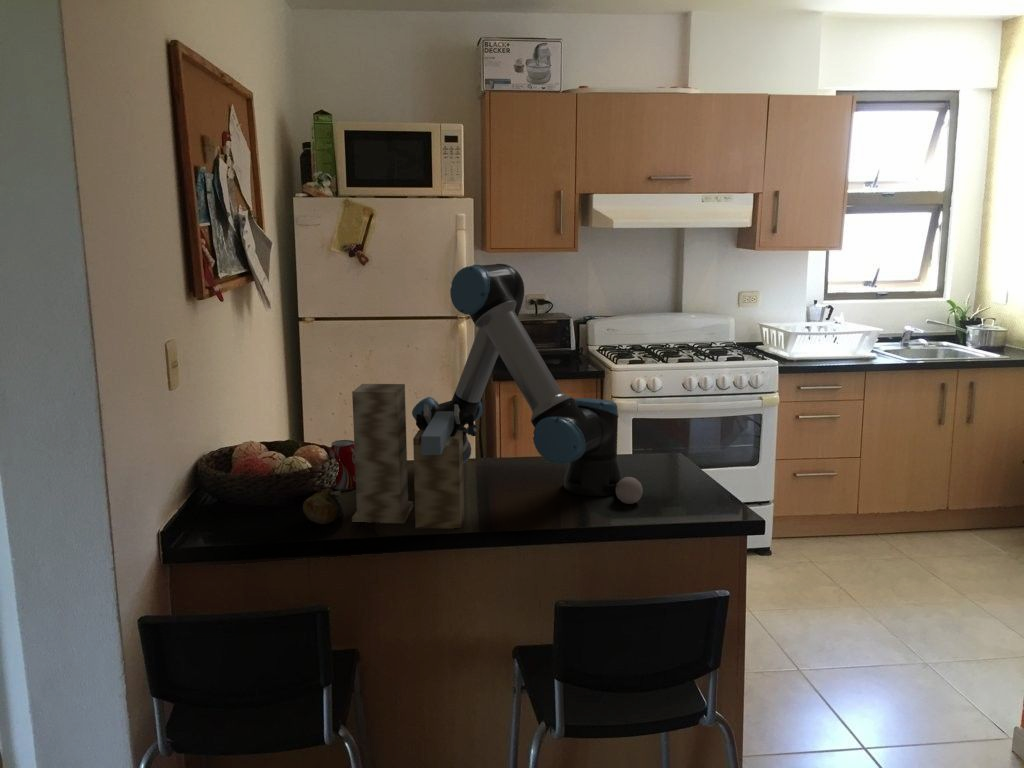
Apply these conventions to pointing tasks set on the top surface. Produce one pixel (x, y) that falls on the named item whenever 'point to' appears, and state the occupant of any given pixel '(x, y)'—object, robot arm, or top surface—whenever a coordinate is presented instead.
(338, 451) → the soda can
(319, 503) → the onion
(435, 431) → the rod
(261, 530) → the top surface
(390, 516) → the stand
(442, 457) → the rest block
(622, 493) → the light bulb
